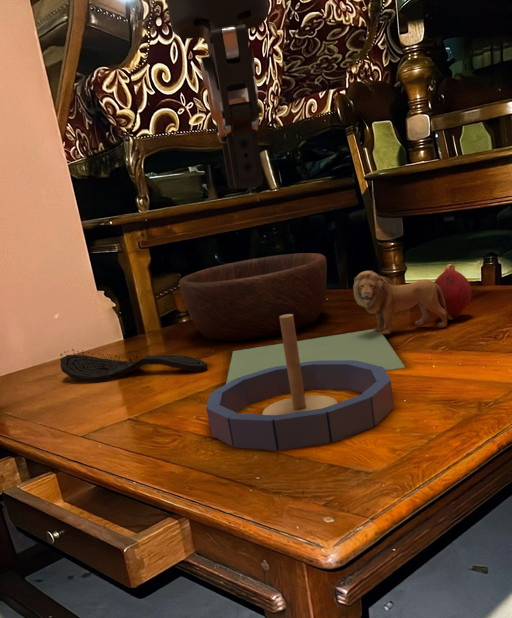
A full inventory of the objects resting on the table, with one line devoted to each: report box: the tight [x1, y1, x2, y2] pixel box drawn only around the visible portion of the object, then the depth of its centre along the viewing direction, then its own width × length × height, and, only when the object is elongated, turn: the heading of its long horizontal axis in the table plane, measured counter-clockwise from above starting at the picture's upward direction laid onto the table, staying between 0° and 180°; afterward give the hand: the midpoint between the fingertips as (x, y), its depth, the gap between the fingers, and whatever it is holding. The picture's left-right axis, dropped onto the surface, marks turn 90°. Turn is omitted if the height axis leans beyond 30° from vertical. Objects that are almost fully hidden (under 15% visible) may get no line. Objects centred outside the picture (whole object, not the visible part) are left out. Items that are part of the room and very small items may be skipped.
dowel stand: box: [261, 314, 339, 415], centre depth 71 cm, size 8×8×11 cm
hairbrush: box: [59, 348, 208, 383], centre depth 103 cm, size 8×4×25 cm
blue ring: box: [205, 360, 394, 451], centre depth 73 cm, size 19×19×4 cm
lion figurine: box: [352, 270, 454, 335], centre depth 98 cm, size 15×5×9 cm, turn 101°
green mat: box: [225, 328, 406, 384], centre depth 93 cm, size 22×22×1 cm
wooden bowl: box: [178, 252, 328, 342], centre depth 118 cm, size 25×25×10 cm
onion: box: [433, 263, 473, 320], centre depth 101 cm, size 6×6×8 cm
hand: (245, 187), depth 57 cm, fingers open, 8 cm apart
